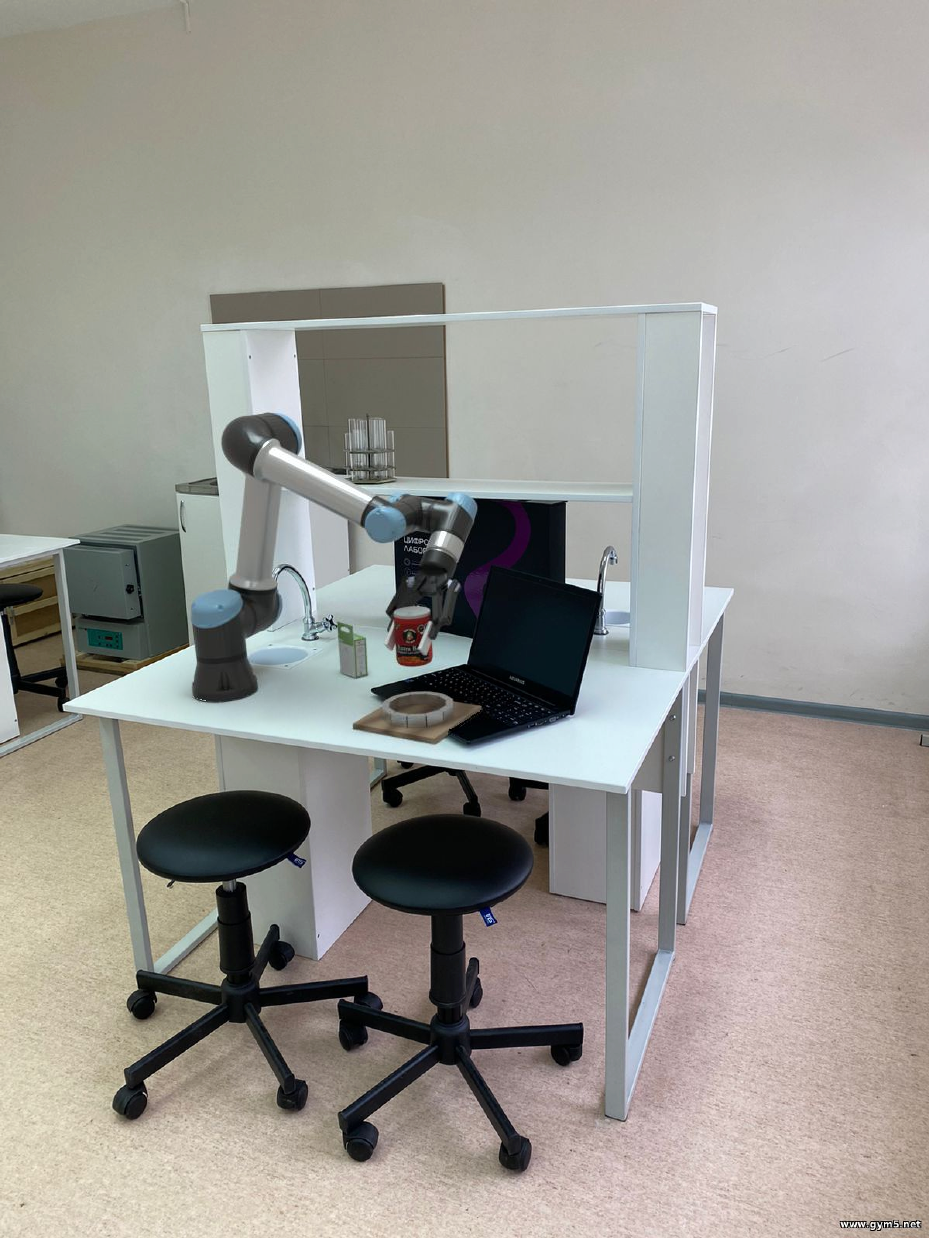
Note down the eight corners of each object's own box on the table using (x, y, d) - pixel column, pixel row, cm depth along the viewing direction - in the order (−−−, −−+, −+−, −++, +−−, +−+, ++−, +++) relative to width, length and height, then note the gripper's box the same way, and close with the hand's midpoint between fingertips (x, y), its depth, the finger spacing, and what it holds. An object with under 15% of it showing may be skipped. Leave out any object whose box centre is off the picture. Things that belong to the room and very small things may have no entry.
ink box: (369, 675, 233) (365, 622, 229) (355, 679, 230) (351, 626, 227) (353, 669, 238) (349, 617, 234) (340, 672, 236) (336, 620, 232)
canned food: (393, 667, 196) (389, 616, 193) (400, 655, 204) (397, 606, 201) (429, 667, 195) (426, 615, 192) (435, 655, 202) (433, 605, 200)
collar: (369, 721, 200) (368, 710, 199) (407, 698, 212) (406, 688, 212) (430, 732, 192) (429, 720, 192) (465, 708, 205) (465, 697, 204)
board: (352, 728, 199) (352, 723, 199) (404, 698, 216) (403, 693, 215) (434, 744, 190) (434, 738, 189) (481, 711, 206) (481, 706, 206)
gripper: (489, 570, 203) (455, 664, 193) (408, 563, 212) (372, 652, 203) (476, 550, 197) (440, 646, 188) (394, 545, 207) (356, 635, 197)
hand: (405, 649), depth 195 cm, fingers closed on canned food, 8 cm apart
